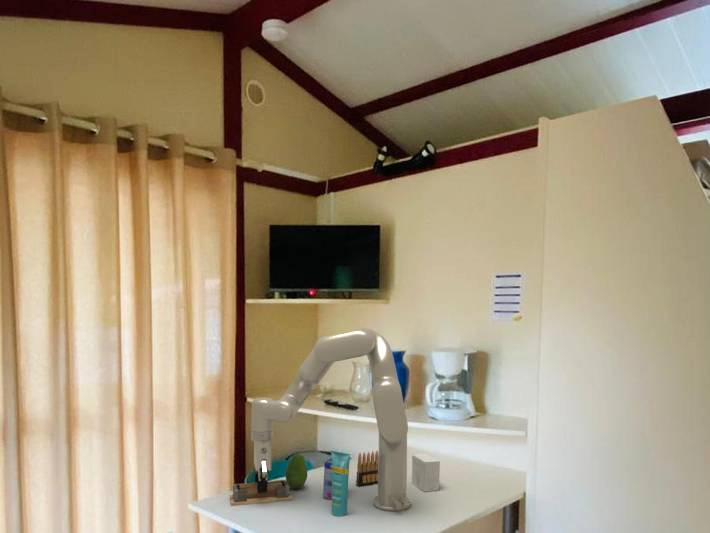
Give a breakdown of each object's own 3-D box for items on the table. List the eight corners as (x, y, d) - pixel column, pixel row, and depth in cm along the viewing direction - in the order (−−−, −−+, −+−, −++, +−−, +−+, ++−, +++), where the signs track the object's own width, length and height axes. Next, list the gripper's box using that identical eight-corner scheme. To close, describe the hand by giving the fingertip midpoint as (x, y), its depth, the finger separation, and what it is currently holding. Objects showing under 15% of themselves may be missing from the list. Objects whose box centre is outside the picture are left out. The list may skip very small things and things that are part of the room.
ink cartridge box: (337, 501, 182) (338, 457, 183) (322, 498, 184) (323, 455, 185) (348, 491, 192) (348, 449, 193) (333, 489, 194) (334, 447, 194)
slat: (281, 496, 183) (282, 483, 184) (239, 499, 179) (240, 487, 180) (280, 492, 187) (280, 480, 187) (238, 496, 183) (239, 483, 183)
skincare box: (440, 490, 194) (440, 460, 195) (424, 492, 192) (424, 462, 192) (426, 481, 204) (426, 452, 204) (411, 482, 202) (411, 454, 202)
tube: (325, 513, 172) (326, 451, 173) (333, 508, 176) (334, 448, 177) (346, 518, 168) (347, 455, 169) (353, 513, 172) (354, 451, 173)
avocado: (311, 488, 194) (312, 454, 194) (293, 493, 189) (294, 458, 189) (298, 482, 200) (299, 449, 200) (280, 487, 194) (281, 453, 195)
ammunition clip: (381, 481, 202) (381, 449, 203) (384, 483, 201) (384, 450, 201) (355, 485, 198) (356, 452, 198) (358, 487, 196) (358, 453, 197)
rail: (291, 500, 183) (292, 486, 183) (231, 505, 177) (231, 491, 177) (288, 492, 189) (288, 479, 190) (229, 498, 183) (230, 484, 184)
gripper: (277, 440, 177) (275, 496, 176) (269, 428, 194) (268, 479, 193) (254, 442, 175) (252, 499, 174) (248, 429, 191) (247, 481, 190)
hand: (260, 488), depth 183 cm, fingers open, 6 cm apart
